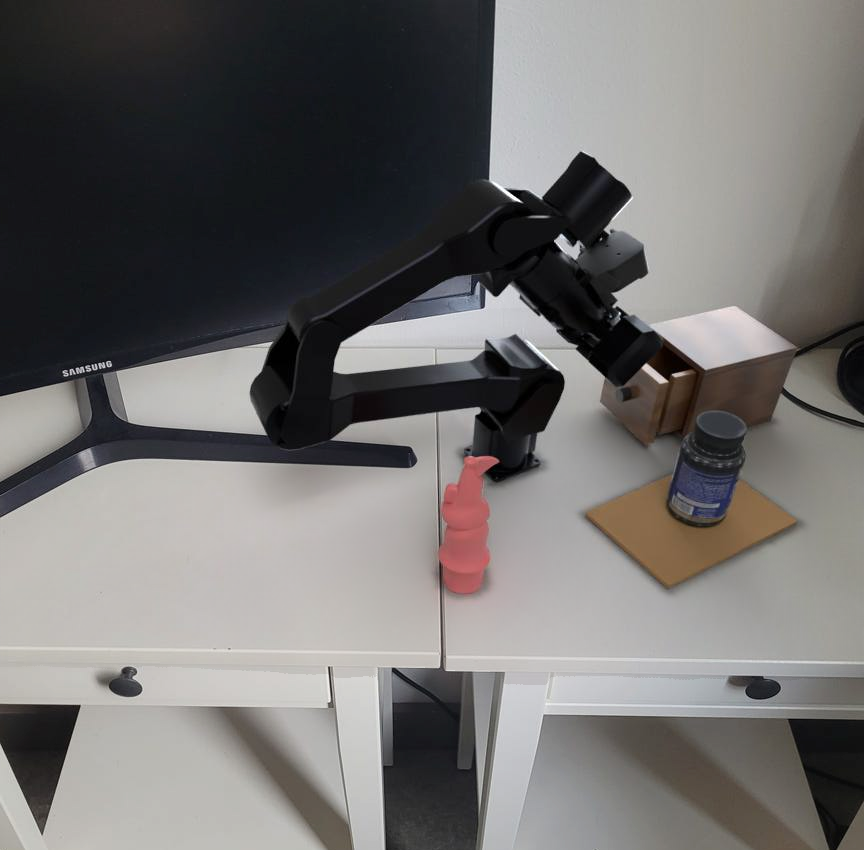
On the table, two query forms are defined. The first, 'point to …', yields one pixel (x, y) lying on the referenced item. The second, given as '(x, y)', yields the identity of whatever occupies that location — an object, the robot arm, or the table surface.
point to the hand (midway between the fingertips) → (623, 355)
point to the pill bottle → (707, 469)
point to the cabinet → (729, 363)
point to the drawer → (653, 396)
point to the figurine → (466, 528)
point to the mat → (685, 530)
